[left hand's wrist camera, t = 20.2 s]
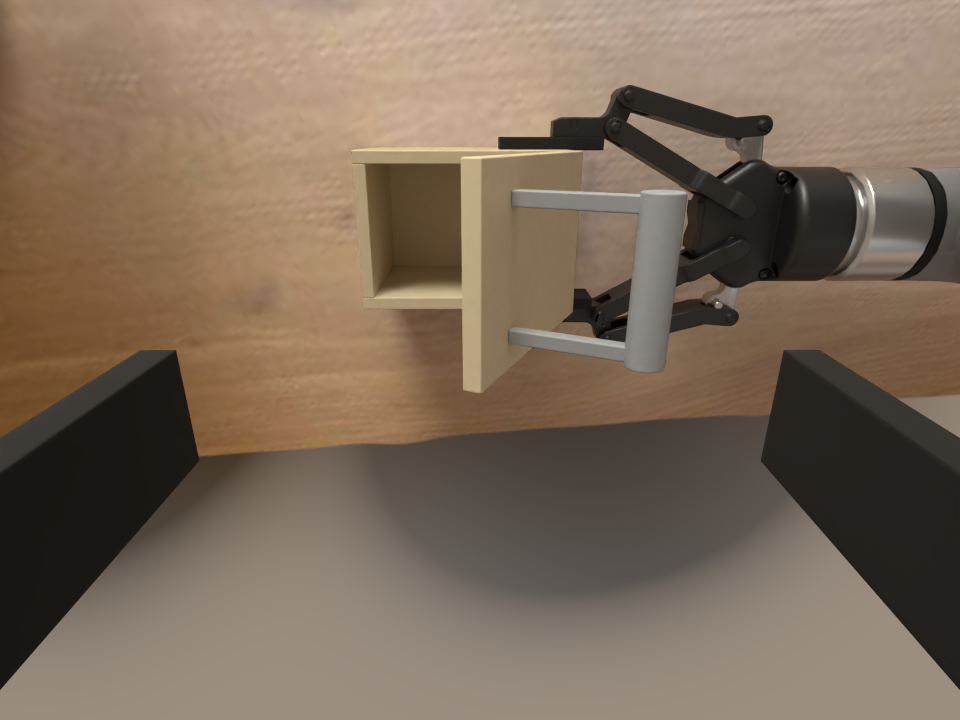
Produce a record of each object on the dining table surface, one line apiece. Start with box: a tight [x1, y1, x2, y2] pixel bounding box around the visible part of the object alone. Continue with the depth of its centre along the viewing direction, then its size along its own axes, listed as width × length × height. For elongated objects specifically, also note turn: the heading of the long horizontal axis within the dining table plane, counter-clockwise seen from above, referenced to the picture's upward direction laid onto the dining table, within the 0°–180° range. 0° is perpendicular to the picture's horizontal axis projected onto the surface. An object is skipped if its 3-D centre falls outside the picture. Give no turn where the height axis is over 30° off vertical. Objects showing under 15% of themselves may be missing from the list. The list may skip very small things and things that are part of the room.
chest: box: [351, 147, 573, 309], centre depth 40 cm, size 13×10×10 cm
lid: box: [461, 151, 687, 394], centre depth 27 cm, size 14×10×8 cm
